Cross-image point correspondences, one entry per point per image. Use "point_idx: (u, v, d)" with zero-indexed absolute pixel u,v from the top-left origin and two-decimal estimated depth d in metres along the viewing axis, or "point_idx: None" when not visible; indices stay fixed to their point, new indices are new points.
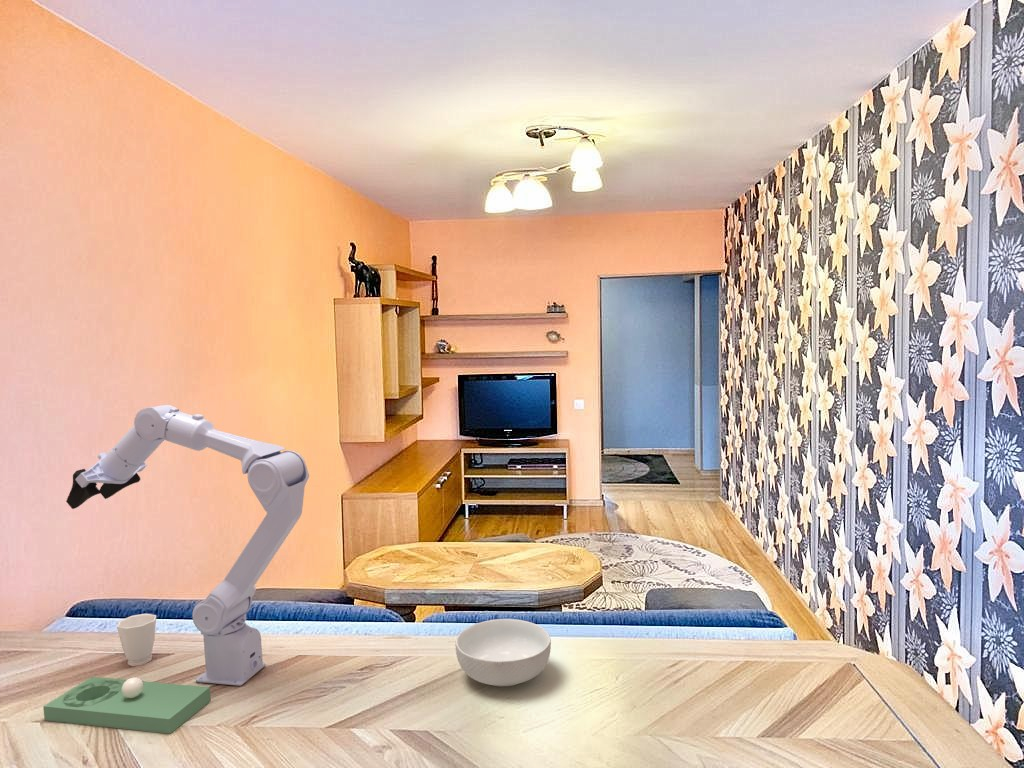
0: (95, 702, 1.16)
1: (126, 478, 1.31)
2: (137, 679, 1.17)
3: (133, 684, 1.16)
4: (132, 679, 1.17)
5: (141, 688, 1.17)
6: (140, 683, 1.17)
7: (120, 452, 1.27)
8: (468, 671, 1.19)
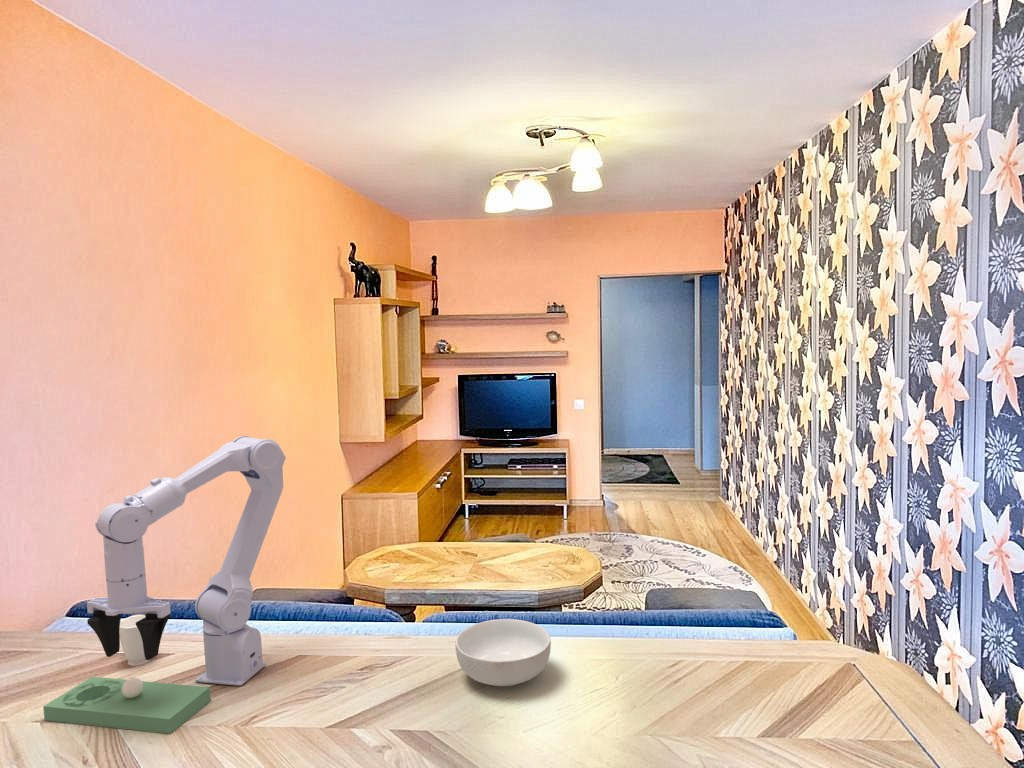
0: (95, 702, 1.16)
1: None
2: (137, 679, 1.17)
3: (133, 684, 1.16)
4: (132, 679, 1.17)
5: (141, 688, 1.17)
6: (140, 683, 1.17)
7: (131, 574, 1.14)
8: (468, 671, 1.19)
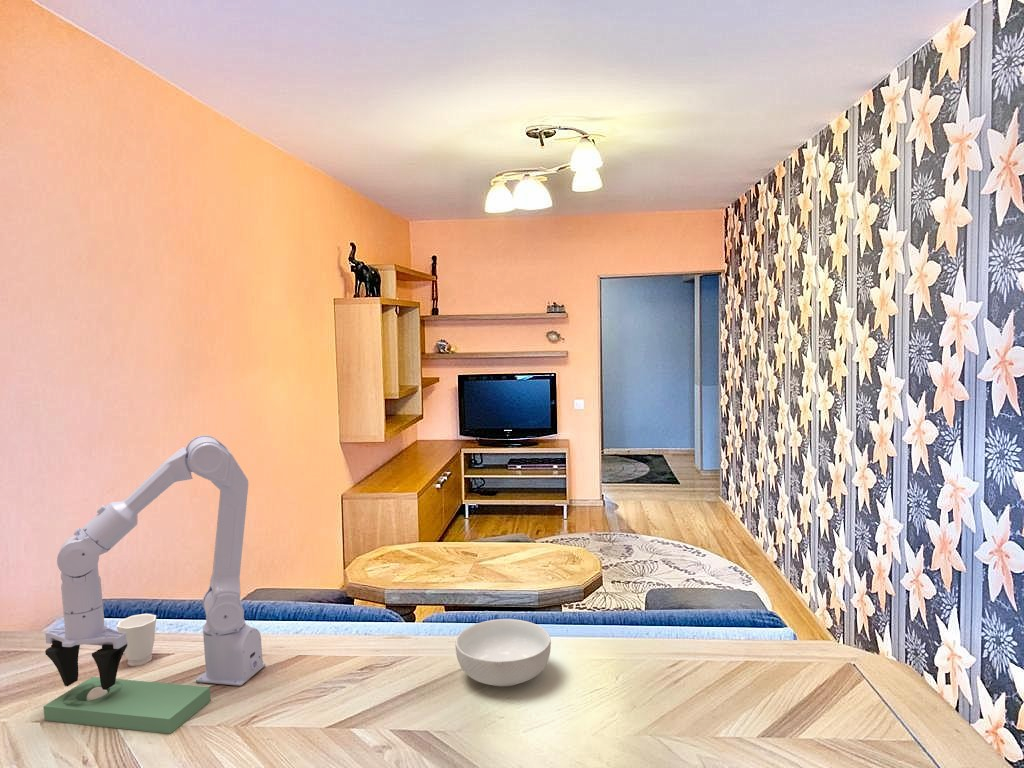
0: (95, 702, 1.16)
1: None
2: None
3: None
4: None
5: None
6: None
7: (80, 608, 1.15)
8: (468, 671, 1.19)
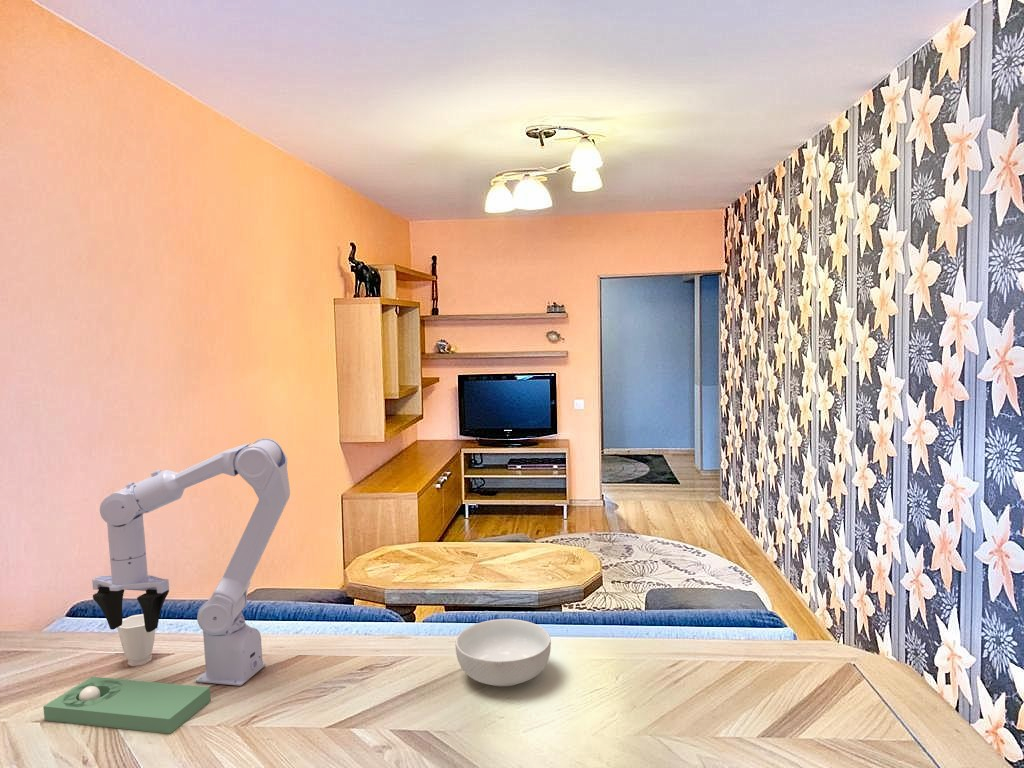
0: (95, 702, 1.16)
1: None
2: (97, 690, 1.19)
3: (92, 695, 1.18)
4: (92, 689, 1.19)
5: None
6: (98, 695, 1.19)
7: (119, 555, 1.23)
8: (468, 671, 1.19)
